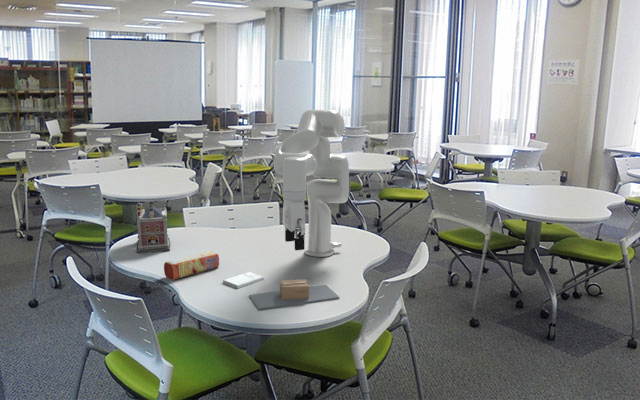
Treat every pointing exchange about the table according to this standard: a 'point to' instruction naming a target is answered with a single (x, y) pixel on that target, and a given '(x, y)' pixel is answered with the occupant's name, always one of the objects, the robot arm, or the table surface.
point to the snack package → (191, 265)
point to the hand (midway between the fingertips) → (294, 245)
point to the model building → (152, 230)
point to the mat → (275, 299)
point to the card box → (294, 289)
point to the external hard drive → (243, 280)
